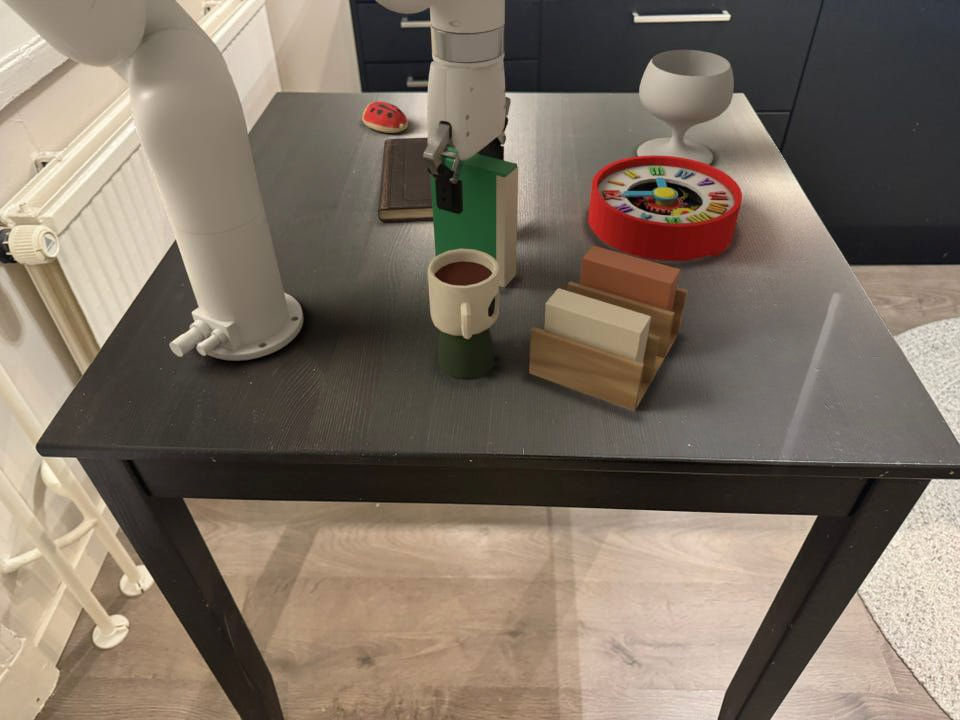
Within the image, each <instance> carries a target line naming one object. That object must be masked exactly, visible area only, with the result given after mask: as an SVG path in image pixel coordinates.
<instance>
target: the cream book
mask: <svg viewBox="0 0 960 720" xmlns="http://www.w3.org/2000/svg"><path fill="white" fill-rule="evenodd" d="M544 309H545V310H544V327H543V330H545V331H548V332H551V333H554V334H557V335H560V336H563V337H566V338H569V339H572V340H575V341H578V342H581V343H584V344H587V345H590V346H593V347H596V348H599V349H602V350H605V351H608V352H611V353H614V354H617V355H620V356H623V357H626V358H629V359H632V360H635V361H638V362H641V363H643V360H644V354H645V349H646V343H647V338H648V332H649V326H650V321H651V316H648V315H645V314H642V313H638V312H635V311H632V310H628V309H625V308H622V307H619V306H615V305H612V304H609V303H605V302H602V301H599V300H596V299H592V298H589V297H586V296H582V295H579V294H576V293H573V292H569V291H567V290H566V289H562V288H560V287H559V288H557V289H556V290H555V291H554V292H553V294H552V295H551V296H550V297H549V299H548V300H547V301H546V303H545V308H544Z"/></svg>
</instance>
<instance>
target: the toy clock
mask: <svg viewBox="0 0 960 720" xmlns="http://www.w3.org/2000/svg"><path fill="white" fill-rule="evenodd" d="M742 202H743V193H742V189H741V187H740V185H739V184H738V183H737V181H735V179H733V177H731V176H730V175H728V174H727V173H725V171H722V169H718V168H717V167H715V166H713V165H711V164H709V165H707V164H705V163H702V162H698V161H695V160H691V159H686V158H681V157H673V156H659V155H650V156H638V155H636V156H630V157H627V158H622V159H618V160H615V161H613V162H610V163H609V164H607V165H604V166H603V167H602V168H601V169H599V170H598V171H597V172H596V173H595V174H594V176H593V177H592V181H591V189H590V200H589V207H588V208H589V209H588V218H587V219H588V220H587V224H588V225H589V226H590V228H591V230H592V231H593V233H594V234H595V235H596V236H597V238H599V239H600V240H601V241H603V242H604V243H605V244H607V245H609V246H610V247H612V248H614V249H616V250H618V251H620V252H622V253H624V254H627V255H630V256H633V257H638V258H642V259H647V260H656V261H669V262H675V261H678V262H679V261H690V260H691V261H692V260H697V259H701V258H705V257H713V258H716V257H718V256H719V255H721V254H722V253H724V252H725V251H727V249H728V248H729V247H730V246H731V243H732V241H733V239H734V235H735V232H736V231H735V230H736V227H737V222H738V219H739V214H740V211H741V206H742Z"/></svg>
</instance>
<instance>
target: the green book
mask: <svg viewBox="0 0 960 720" xmlns="http://www.w3.org/2000/svg"><path fill="white" fill-rule="evenodd" d="M448 151H452V152H456V153H458V150H456V149H454V148H449V147H448ZM453 163H454V160H453V159H449V158H446V161H445V165H446V166H447V167H448V168H449V169H450V170H452V166H453ZM430 176H431V192H432V207H433V220H432V222H433V238H434V251H435V257H436V256H437V255H440V254H442V253H444V252H447V251H450V250H456V249H473V250H478V251H481V252H484V253H487V254H488V255H490V256H492V257H493V258H494V259H495V260H496V261H497V263H498V265H499V287H502V288H506V287H507V286H508V284H509V283H511V281H512V280H513V279H514V278H515V277H516V276H517V241H518V240H517V238H518V204H519V203H518V200H519V199H518V196H519V195H518V194H519V166H518V163H516V162H512V161H508V160H505V159H504V160H500V159H496V158H491V157H487V156H483V155H479V154H475V155H473V156H472V157H470V158H469V159H467V160H464V163H463V166H462V169H461V172H460V175H459V179H458V180H461V181H462V194H463V211H462V212H461V213H460V214H456V213H452V212H448V211H445V210H441V209H439V208H438V207H437V204H436V186H435V179H433V178H432V175H431V174H430Z"/></svg>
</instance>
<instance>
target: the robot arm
mask: <svg viewBox="0 0 960 720" xmlns="http://www.w3.org/2000/svg"><path fill="white" fill-rule="evenodd" d="M1 1H2V2H3V3H4V4H6V5H7V7H8V8H10V9H11V10H12V11H13V12H14V13H15V14H16V15H18V16H19V17H20V18H21V19H22V20H23V21H24V22H25V23H26V24H27V25H28V26H29V27H30V28H32V29H33V30H34V31H35V33H37V34H38V35H39V37H41V38H42V39H43V40H44V41H45V42H46V43H47V44H49V46H51V47H52V48H53V49H54V50H56V51H57V52H58V53H60V54H61V55H63V56H65V57H66V58H68V59H69V60H71V61H74V62H77V63H78V64H82V65H83V66H89V67H94V68H107V67H108V68H109V69H111V70H112V71H113V72H114V73H115V74H116V75H117V76H118V77H120V78H121V79H122V80H123V82H125V83H126V84H127V85H128V89H129V101H130V102H129V103H130V110H131V115H132V121H133V124H134V128H135V131H136V132H135V133H136V136H137V138H138V141H139V143H140V146H141V149H142V151H143V153H144V157H145V159H146V161H147V163H148V166H149V168H150V171H151V173H152V176H153V179H154V181H155V183H156V186H157V189H158V192H159V195H160V198H161V201H162V204H163V207H164V210H165V212H166V216H167V218H168V222H169V223H170V226H171V229H172V232H173V235H174V238H175V241H176V244H177V246H178V247H177V248H178V250H179V252H180V253H179V254H180V255H181V258H182V261H183V264H184V268H185V271H186V273H187V277H188V279H189V282H190V286H191V288H192V291H193V294H194V297H195V300H196V304H197V306H198V307H197V308H195V309H194V310H193V311H191V316H192V318H193V321H194V322H192V323H191V324H190V325H189V330H187V331H186V332H184V333H182V334H180V335H179V336H178V337H176V338H175V339H173V340H172V341H170V342H169V348H170V350H171V351H172V353H173V354H174V355H175V356H177V357H179V358H182V357H184V356H185V355H186V354H188V353H189V352H190V351H192V350H193V349H194V348H196V351H197V352H198V353H199V354H200V355H201V356H203V357H206V356H210V357H212V358H215V359H219V360H224V361H234V362H235V361H249V360H253V359H259V358H262V357H264V356H268V355H270V354H273V353H276V352H278V351H279V350H281V349H283V348H284V347H286V346H287V345H288V344H289V343H291V342H292V341H293V340H294V339H295V338H296V337H297V336H298V334H299V333H300V332H301V330H302V328H303V325H304V320H305V319H304V313H303V309H302V306H301V304H300V302H299V301H298V300H297V299H296V298H295V297H293V296H292V295H290V294H288V293H286V292H285V290H284V286H283V282H282V277H281V273H280V270H279V265H278V260H277V256H276V252H275V249H274V248H275V247H274V243H273V240H272V234H271V230H270V226H269V223H268V222H269V221H268V219H267V214H266V210H265V206H264V201H263V197H262V194H261V190H260V185H259V180H258V177H257V173H256V167H255V164H254V159H253V153H252V149H251V144H250V143H251V142H250V137H249V132H248V126H247V121H246V117H245V112H244V109H243V105H242V102H241V99H240V96H239V93H238V90H237V87H236V84H235V82H234V79H233V76H232V74H231V72H230V69H229V67H228V64H227V62H226V60H225V57H224V56H223V54H222V52H221V50H220V48H219V47H218V46H217V44H216V43H215V42H214V40H212V38H211V37H210V36H209V35H208V34H207V33H206V31H205V30H204V29H203V27H201V26H200V25H199V24H198V23H197V21H196V20H195V19H194V18H193V17H192V16H191V15H190V14H189V13H188V12H187V11H186V10H185V8H183V6H182V5H181V4H180V3H179V2H178V1H177V0H1ZM375 2H377V3H378V4H379V5H380V6H382V7H384V8H385V9H387V10H389V11H391V12H395V13H398V14H405V15H409V14H417V13H421V12H423V11H425V10H427V9H429V15H430V17H429V18H430V36H431V37H430V39H431V40H430V41H431V55H432V56H431V57H432V60H433V61H431V62H430V67H429V73H428V83H427V98H426V101H427V102H426V105H427V106H426V120H427V121H426V130H427V132H426V133H427V134H426V135H427V138H428V146H427V148H426V150H425V151H424V154H423V158H424V160H425V162H426V165H427V167H428V172H429V173H430V174H431V175H432V178H433V179H435V186H436V204H437V207H438V208H439V209H441V210H445V211H448V212H452V213H456V214H460V213H461V212H462V211H463V194H462V181H461V180H458V179H459V175H460V172H461V169H462V166H463V163H464V160H467V159H469V158H470V157H472V156H473V155H475V154H476V153H477V152H479V155H483V156H487V157H491V158H496V159H500V160H504V161H505V146H504V145H505V144H506V141H507V135H506V133H505V132H506V129H507V126H508V125H509V117H508V116H509V113H510V112H509V111H510V107H511V102H512V100H511V98H510V97H508V96H506V75H505V64H504V58H505V37H506V36H505V34H506V33H505V32H506V31H505V29H506V28H505V26H506V22H505V21H506V19H505V17H506V0H375ZM449 146H450V147H453V148H455V149H456V150H458V153H456V152H452V151H448V147H449ZM446 158H449V159H453V160H454V163H453V166H452V170H450V169H449V168H448V167H447V166H446V165H445V161H446Z"/></svg>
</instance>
